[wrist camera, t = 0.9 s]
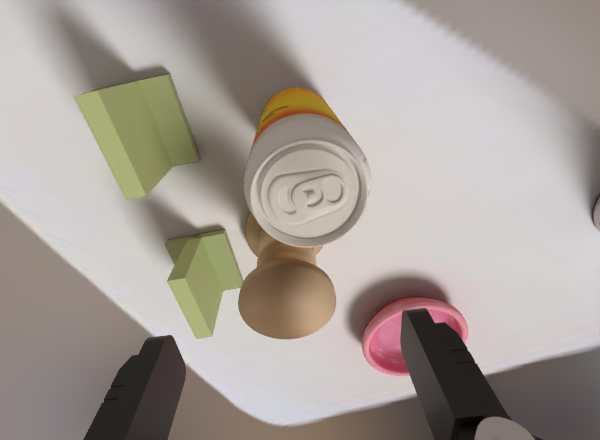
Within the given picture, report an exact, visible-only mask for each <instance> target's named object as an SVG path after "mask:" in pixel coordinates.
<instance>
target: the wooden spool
mask: <svg viewBox="0 0 600 440" xmlns="http://www.w3.org/2000/svg"><path fill="white" fill-rule="evenodd" d="M245 234H246V240H247V243H248V246H249V247H250V249H251V250H252V252H253V253H254V254H255V255H256V256H257V257H258V261H257V268H256V269H254V270H253V271H252V272H251V273H250V274H249V275H248V276H247V277H246V278H245V280H244V282H243V284H242V286H241V289H240V294H239V301H238V306H239V311H240V314H241V316H242V318H243V320H244V321H245V323H246V324H247V325H248V326H249V327H251V328H252V329H253V330H255V331H256V332H258V333H260V334H262V335H265V336H268V337H271V338H277V339H295V338H300V337H304V336H307V335H310V334H312V333H314V332H316V331H318V330H319V329H321V328H322V327H323V326H324V325H326V324H327V322H328V321H329V320H330V319H331V317H332V316H333V313H334V311H335V307H336V296H335V291H334V287H333V284H332V282H331V280H330V278H329V277H328V275H327V274H326V273H325V272H324V271H323V270H321V269H320V268H318V267H317V264H316V258H315V256H316V255H317V254H318V252H319V251H320V250H321V249H322V247H323V245H322V246H318V247H296V246H291V245H288V244H285V243H282V242H280V241H278V240H276V239H275V238H273V237H272V236H270V235H269V234H268V233H267V232H266V231H265V230H264V229H263V228H262V227H261V226H260V225H259V223H258V222H257V220H256V219H255V218H254V216H253V215H252V213H251V212H250V214H249V216H248V219H247V224H246V231H245Z"/></svg>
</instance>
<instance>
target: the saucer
mask: <svg viewBox="0 0 600 440" xmlns="http://www.w3.org/2000/svg"><path fill="white" fill-rule="evenodd" d="M418 308H426V309H427V310H428V311H429V313H430V315H431V317H432V319H433V321H434V322H435V323H441V322H445V323H446V324H448V325H449V326H450V327H451V328H452V329H453V330H455V331H456V332H457V333H458V334H459V335H460V337H461V339H462V340H463V342H464V344H465V343H466V340H467V337H468V327H467V323H466V321H465V319H464V318H463V316H462V315H461V313H460V312H459V311H458V310H457V309H456V308H454V307H453V306H451V305H450V304H447V303H445V302H442V301H438V300H435V299H430V298H423V297H409V298H403V299H399V300H397V301H394V302H392V303H390V304H388V305H386V306H385V307H383V308H382V309H381V310H380V311H379V312H378V313H377V314H376V315H375V316H374V318H373V319H372V320H371V321H370V323H369V324H368V326H367V327H366V329H365V331H364V334H363V337H362V349H363V354H364V356H365V359H366V360H367V362H368V363H369V364H370V365H371V366H372V367H374V368H375V369H377V370H378V371H380V372H383V373H386V374H390V375H396V376H410V374H409V371H408V369H407V366H406V363H405V361H404V358H403V355H402V350H401V344H400V336H401V321H402V311H403V310H409V309H418Z"/></svg>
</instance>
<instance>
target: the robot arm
mask: <svg viewBox="0 0 600 440" xmlns="http://www.w3.org/2000/svg"><path fill="white" fill-rule="evenodd" d="M593 216H594V223H595V225H596V228H597V229H598V230H599V231H600V197H599V198H598V201H597V203H596V205H595V209H594V214H593ZM400 344H401V350H402V355H403V358H404V361H405V363H406V366H407V369H408V371H409V374H410V377H411V379H412V382H413V384H414V387H415V390H416V392H417V395H418V398H419V400H420V403H421V406H422V408H423V411H424V413H425V416H426V419H427V421H428V424H429V426H430V429H431V432H432V435H433V437H434V440H542V439H540V438H537V437H535V436H533V435H531V434H530V433H529V432H528V431H526V430H525V429H524V428H523V427H521V426H520V425H518V424H517V423H515V422H514V421H513V420H512V419H511V418H510V417H509V416H508V415H507V413H506V412H505V410H504V409H503V407H502V405H501V404H500V402H499V400H498V399H497V397H496V395H495V394H494V392H493V390H492V389H491V387H490V385H489V384H488V382H487V380H486V379H485V377H484V375H483V374H482V372H481V370H480V369H479V367H478V365H477V364H475V360H474V359H473V357H472V355H471V354H470V352H469V351H468V350H467V347H466V345H465V344H464V342H463V340H462V339H461V337H460V335H459V334H458V333H457V332H456V331H455V330H453V329H452V328H451V327H450V326H449V325H448V324H446V323H445V322H441V323H435V322H434V321H433V319H432V317H431V315H430V313H429V311H428V310H427V309H426V308H418V309H409V310H403V311H402V321H401V336H400ZM185 375H186V368H185V363H184V360H183V358H182V356H181V354H180V351H179V349H178V347H177V344H176V342H175V340H174V338H173V336H171V335H168V336H159V337H150V338H147V339H146V341H145V342H144V344H143V346H142V348H141V351H140V353H139V355H134V356H131V357H130V359H129V360H128V361H127V362H126V363H125V364H124V365H123V366H122V367H121V368H120V369H119V371H118V373H117V375H116V377H115V379H114V381H113V383H112V385H111V389H109V391H108V393H107V395H106V397H105V398H104V403H102V404H101V406H100V408H99V410H98V412H97V414H96V416H95V418H94V420H93V422H92V424H91V426H90V428H89V430H88V432H87V434H86V436H85V438H84V440H167V439H168V436H169V432H170V429H171V426H172V422H173V419H174V415H175V412H176V409H177V405H178V402H179V399H180V395H181V392H182V389H183V385H184V381H185Z"/></svg>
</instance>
